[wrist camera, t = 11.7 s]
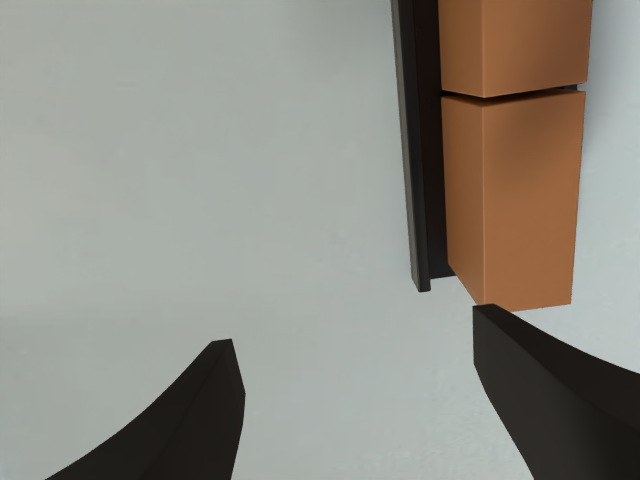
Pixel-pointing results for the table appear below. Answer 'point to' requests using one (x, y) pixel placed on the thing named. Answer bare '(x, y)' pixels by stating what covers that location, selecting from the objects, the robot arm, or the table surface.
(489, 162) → the orange rectangular block
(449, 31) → the brown wooden block
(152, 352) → the table surface
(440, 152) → the rail
